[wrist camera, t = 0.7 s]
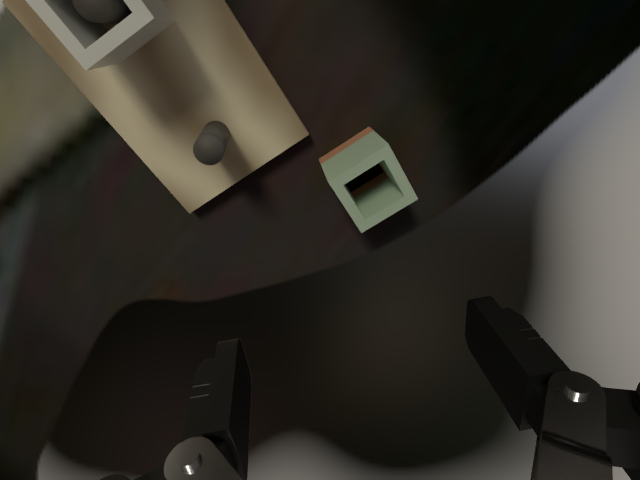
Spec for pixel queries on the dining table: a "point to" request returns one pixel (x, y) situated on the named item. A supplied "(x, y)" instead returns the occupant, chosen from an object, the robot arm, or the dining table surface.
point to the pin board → (183, 95)
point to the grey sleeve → (103, 30)
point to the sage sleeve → (376, 194)
